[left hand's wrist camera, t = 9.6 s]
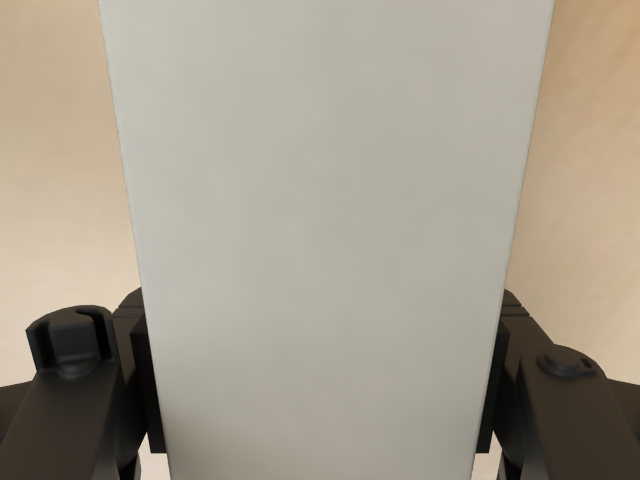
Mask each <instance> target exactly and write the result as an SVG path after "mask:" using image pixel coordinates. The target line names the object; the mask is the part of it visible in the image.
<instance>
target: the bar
mask: <svg viewBox="0 0 640 480" xmlns="http://www.w3.org/2000/svg"><path fill="white" fill-rule="evenodd" d="M554 3H555V0H98V6H99V13H100V19H101V26H102V32H103V39H104V46H105V52H106V59H107V65H108V72H109V78H110V85H111V91H112V98H113V104H114V111H115V118H116V124H117V131H118V137H119V144H120V150H121V157H122V163H123V170H124V177H125V183H126V190H127V196H128V203H129V209H130V216H131V222H132V229H133V235H134V242H135V249H136V255H137V262H138V268H139V275H140V281H141V288H142V294H143V301H144V308H145V314H146V321H147V327H148V334H149V340H150V347H151V353H152V360H153V366H154V373H155V380H156V386H157V393H158V399H159V406H160V412H161V419H162V425H163V432H164V439H165V445H166V452H167V458H168V465H169V471H170V478H171V480H471V476H472V470H473V464H474V459H475V453H476V447H477V442H478V436H479V430H480V425H481V419H482V413H483V407H484V402H485V396H486V390H487V385H488V379H489V373H490V368H491V362H492V356H493V351H494V345H495V339H496V333H497V328H498V322H499V316H500V311H501V305H502V299H503V294H504V288H505V282H506V277H507V271H508V265H509V260H510V254H511V248H512V242H513V237H514V231H515V225H516V220H517V214H518V208H519V203H520V197H521V191H522V186H523V180H524V174H525V168H526V163H527V157H528V151H529V146H530V140H531V134H532V129H533V123H534V117H535V112H536V106H537V100H538V94H539V89H540V83H541V77H542V72H543V66H544V60H545V55H546V49H547V43H548V38H549V32H550V26H551V20H552V15H553V9H554Z"/></svg>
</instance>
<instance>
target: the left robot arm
mask: <svg viewBox="0 0 640 480" xmlns="http://www.w3.org/2000/svg"><path fill="white" fill-rule="evenodd" d="M25 331H26V334H27V338H28V342H29V345H30V349H31V352H32V356H33V360H34V363H35V367H36V370H37V372H36V374H35V376H34V378H33V380H32V381H28V382H24V383H20V384H14V385H9V386H4V387H0V480H140V478H141V464H140V458H139V453H138V449H139V447H140V445H141V443H142V441H143V439H144V437H145V434H146V432H147V435H148V440H149V446H150V451H151V453H167V452H166V445H165V439H164V432H163V425H162V419H161V412H160V406H159V399H158V393H157V386H156V380H155V373H154V366H153V360H152V353H151V347H150V340H149V334H148V327H147V321H146V314H145V308H144V301H143V294H142V288H141V287H140V288H138V289H136V290H135V291H133V292H131V293H130V294H128V295H127V296H126V298H125V299H124V300H123V301H122V303H121V304H120V305H119V308H117V309H116V310H115V311H114V312H113V313H111V312H110V311H109V310H107V309H106V308H105V307H100V306H95V305H78V306H73V307H68V308H63V309H60V310H57V311H54V312H51V313H49V314H46V315H44V316H43V317H41V318H39V319H37V320H36V321H34V322H33V323H32V324H31V325H30V326H29V327H28V328H27V329H26V330H25ZM493 431H494V433H495V435H496V437H497V439H498V441H499V443H500V446H501V448H502V453H501V458H500V464H499V469H498V474H497V479H496V480H640V385H636V384H631V383H626V382H621V381H616V380H612V379H608V378H607V377H606V375H605V373H604V371H603V370H602V369H601V368H600V366H599V365H598V364H597V363H596V362H595V361H594V360H592V359H591V358H589V357H588V356H586V355H585V354H583V353H581V352H579V351H576V350H574V349H571V348H569V347H565V346H561V345H556V344H554V343H553V342H552V341H551V340H550V338H549V337H548V336H547V335H546V333H545V332H544V331H543V330H542V329H541V327H540V326H539V325H538V324H537V323H536V321H535V320H534V319H533V318H532V317H530V316H529V313H528V312H527V311H526V309H525V308H524V307H522V306H521V303H520V302H519V301H518V300H517V299H516V297H515V296H514V295H513V294H512V293H511V292H509V291H508V290H506V289H504V294H503V299H502V305H501V311H500V316H499V322H498V328H497V333H496V339H495V345H494V351H493V356H492V362H491V368H490V373H489V379H488V385H487V390H486V396H485V402H484V407H483V413H482V419H481V425H480V430H479V436H478V442H477V447H476V453H489V450H490V444H491V438H492V433H493Z"/></svg>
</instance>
